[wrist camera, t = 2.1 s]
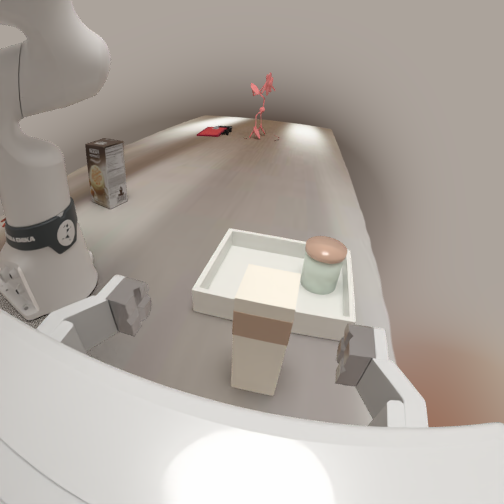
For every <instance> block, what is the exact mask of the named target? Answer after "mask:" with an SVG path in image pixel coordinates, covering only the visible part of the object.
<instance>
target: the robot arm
mask: <svg viewBox="0 0 504 504" xmlns="http://www.w3.org/2000/svg"><path fill="white" fill-rule="evenodd" d="M0 24H2V25H8V26H13V27H16V28H18V29H20V30H21V31H22V32H23V33H24V34H25V36H26V37H27V40H26V41H24V42H23V43H19V44H15V45H12V46H8V47H5V48H1V49H0V199H1V203H2V206H3V210H4V214H5V217H6V218H5V219H3V220H2V221H1V222H3V221H5V220H6V221H5V223H4V225H3V226H2V227H5V230H6V231H5V234H6V240H7V241H6V243H5V245H4V247H3V248H2V250H1V252H0V268H1V270H0V293H1V294H2V295H3V296H4V297H5V298H6V299H7V300H8V301H9V302H10V304H11V305H12V306H13V307H14V308H15V309H16V310H17V311H18V312H19V313H20V314H21V315H22V316H23V317H24V318H25V319H26V320H33V319H36V318H38V317H40V316H42V315H45V314H49V315H48V316H47V317H46V318H45V320H44V321H43V322H42V323H41V324H40V325H39V326H38V327H37V329H34V328H33V327H31V326H29V325H27V324H26V323H24V322H22V321H21V320H19V319H17V318H15V317H14V316H12V315H11V314H9V313H7V312H6V311H4V310H2V309H1V308H0V504H504V424H503V423H499V422H496V423H495V422H494V423H485V424H477V425H466V426H450V427H428V419H427V411H426V403H425V400H424V399H423V398H422V396H421V395H420V394H419V393H418V391H417V390H416V389H415V388H414V386H413V385H412V384H411V383H410V381H409V380H408V379H407V378H406V376H405V375H404V374H403V373H402V371H401V370H400V369H399V368H398V367H397V365H396V364H395V363H394V362H393V361H391V360H389V353H388V345H387V338H386V331H385V329H384V328H378V327H369V326H362V325H355V324H347V325H346V327H345V330H344V337H342V338H341V340H340V343H339V346H338V350H337V362H338V364H339V365H338V367H337V369H336V382H335V384H342V385H348V386H355V387H356V389H357V391H358V393H359V395H360V396H361V398H362V400H363V402H364V404H365V405H366V407H367V409H368V411H369V413H370V415H371V417H372V418H373V420H372V421H371V423H370V424H369V425H368V426H361V425H349V424H339V423H330V422H322V421H314V420H307V419H300V418H294V417H288V416H282V415H277V414H271V413H266V412H261V411H256V410H252V409H247V408H243V407H238V406H234V405H230V404H226V403H222V402H218V401H214V400H211V399H207V398H203V397H200V396H196V395H193V394H190V393H186V392H183V391H180V390H177V389H174V388H171V387H167V386H164V385H162V384H159V383H156V382H153V381H150V380H147V379H144V378H142V377H139V376H136V375H134V374H131V373H128V372H126V371H123V370H121V369H118V368H116V367H113V366H111V365H109V364H106V363H104V362H102V361H99V360H97V359H95V358H93V357H90V356H88V355H87V353H86V352H87V351H88V350H90V349H92V348H93V347H95V346H96V345H98V344H100V343H101V342H103V341H105V340H106V339H108V338H110V337H111V336H113V335H115V334H116V333H118V332H121V333H124V334H128V335H131V336H135V335H136V333H137V332H138V331H139V329H140V328H141V321H143V320H145V319H147V317H148V316H149V314H150V311H151V306H152V302H151V298H150V297H149V295H148V294H147V293H148V291H149V287H148V284H147V283H146V282H143V281H139V280H136V279H132V278H129V277H124V276H121V275H115V276H114V277H113V278H112V279H111V280H110V281H109V282H108V283H107V284H106V285H105V286H104V288H103V289H102V290H101V291H100V292H99V293H98V294H97V295H96V296H94V295H93V296H90V297H88V296H89V295H90V293H91V292H92V291H93V289H94V288H95V286H96V283H97V280H98V274H97V271H96V269H95V267H94V265H93V255H92V252H91V251H88V249H87V246H86V243H85V240H84V237H83V234H82V231H81V228H80V225H79V223H78V222H77V215H76V207H75V205H74V201H73V199H72V198H71V197H70V193H69V188H68V181H67V175H66V168H65V160H64V156H63V153H62V151H61V150H60V148H59V147H58V146H57V145H55V144H54V143H52V142H49V141H46V140H43V139H39V138H35V137H30V136H27V135H26V134H24V133H23V132H22V130H21V128H20V125H19V121H20V120H21V119H23V118H24V117H27V116H31V115H35V114H39V113H43V112H46V111H51V110H55V109H59V108H64V107H67V106H70V105H73V104H75V103H78V102H80V101H83V100H85V99H88V98H90V97H93V96H95V95H96V94H97V93H98V92H99V91H100V90H101V88H102V87H103V85H104V83H105V82H106V80H107V77H108V74H109V71H110V65H111V58H110V52H109V49H108V47H107V45H106V43H105V41H104V40H103V39H102V38H101V37H100V36H99V35H97V34H96V33H94V32H93V31H91V30H90V29H89V28H87V27H86V26H85V25H84V24H83V22H82V21H81V20H80V19H79V17H78V16H77V14H76V12H75V9H74V7H73V3H72V0H0ZM87 297H88V298H87Z"/></svg>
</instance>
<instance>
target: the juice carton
mask: <svg viewBox="0 0 504 504" xmlns="http://www.w3.org/2000/svg"><path fill="white" fill-rule="evenodd" d="M300 279H301V274H300V273H294V272H289V271H284V270H278V269H273V268H268V267H263V266H257V265H252V264H249V265H248V267H247V269H246V272H245V274H244V277H243V279H242V281H241V284H240V286H239V288H238V291H237V293H236V296H235V300H234V311H233V329H232V334H233V344H232V369H231V387H234V388H238V389H243V390H247V391H251V392H256V393H261V394H265V395H270V396H274V393H275V389H276V385H277V382H278V378H279V374H280V370H281V367H282V363H283V359H284V355H285V351H286V347H287V345H288V341H289V337H290V333H291V329H292V325H293V320H294V314H295V309H296V303H297V297H298V291H299V285H300Z"/></svg>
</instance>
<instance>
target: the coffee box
mask: <svg viewBox="0 0 504 504" xmlns="http://www.w3.org/2000/svg"><path fill="white" fill-rule="evenodd" d="M123 144H124V143H123V141H119V140H113V139H106V138H103V139H100V140H97V141H94V142H91V143H88V144H86V156H87V165H88V174H89V182H90V189H91V196H92V201H93V202H95V203H97V204H99V205H102V206H104V207H106V208H109V209H112V208H114V207H116V206H118V205H120V204H122V203H124V202H126V201H128V198H127V187H126V175H125V161H124V145H123Z"/></svg>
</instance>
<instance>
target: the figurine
mask: <svg viewBox="0 0 504 504" xmlns="http://www.w3.org/2000/svg"><path fill="white" fill-rule="evenodd" d="M272 82H273V77H272V74H271V73H270V75H267V76H266V83H265V85H264V86H263V88H264V90H266V95H268V92H271V87H272V88H273V89H274V87H273V86H272ZM251 88H252V91H253V96H255V95H256V94H257V95H258V94H260V95H261V94H262V93H263V91H264V90H263V91H262V93H260V91H261V90H262V89H263V88H262V89H261V90H260V91H259V89H258V88H257V86H256V85H254V84H253V83H251ZM274 90H275V89H274ZM254 92H255V93H256V94H255V95H254ZM261 96H262V95H261ZM262 97H263V96H262ZM263 98H264V97H263ZM264 101H265V98H264ZM264 111H265V109H264V102H263V107H261V108H260V112H261V113H262V112H264ZM260 112H259V113H260ZM259 113H258V114H259ZM256 116H257V114H256ZM260 128H261V129H262V131H263V133H264V134H265V132H264V130H263V128H262V125H260V127H259V129H260ZM259 129H257V128H256V124H255V126H254V130H253V132H255V135H256V136H257V137H258V138H259V139H260V134H259ZM253 132H252V133H251V135H252V134H253ZM251 135H250V136H249V137H251ZM274 136H275V135H274ZM278 138H279V137H278ZM244 139H246V138H244ZM278 140H279V139H278ZM274 141H276V140H274Z"/></svg>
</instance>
